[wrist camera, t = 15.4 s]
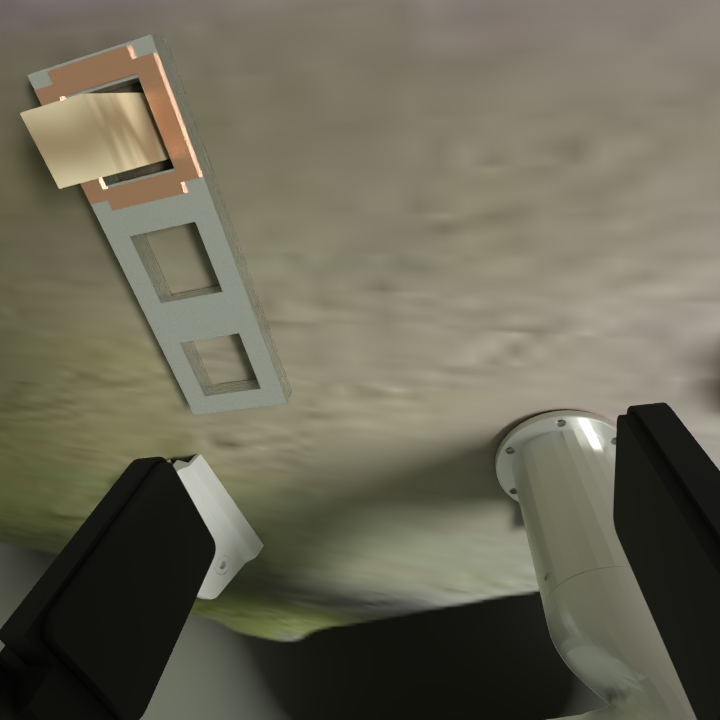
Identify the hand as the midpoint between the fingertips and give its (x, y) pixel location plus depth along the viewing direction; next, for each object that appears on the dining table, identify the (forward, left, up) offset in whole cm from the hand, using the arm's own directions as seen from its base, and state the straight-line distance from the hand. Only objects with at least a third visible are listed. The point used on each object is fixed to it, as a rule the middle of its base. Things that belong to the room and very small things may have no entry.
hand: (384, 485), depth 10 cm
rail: (-1, +20, -30) cm, 36 cm away
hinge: (-31, +31, -31) cm, 53 cm away
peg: (+9, +20, -30) cm, 37 cm away
